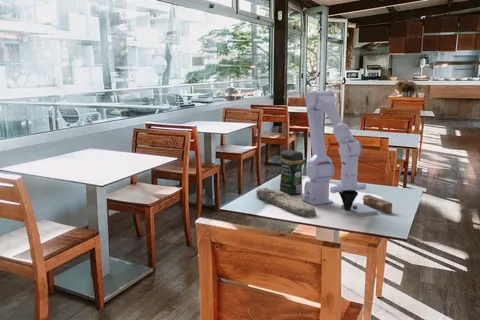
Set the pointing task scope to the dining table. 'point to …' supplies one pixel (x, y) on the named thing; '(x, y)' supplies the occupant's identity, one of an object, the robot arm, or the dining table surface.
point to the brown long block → (377, 203)
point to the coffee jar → (291, 172)
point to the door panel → (361, 209)
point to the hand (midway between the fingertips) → (347, 210)
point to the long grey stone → (286, 202)
